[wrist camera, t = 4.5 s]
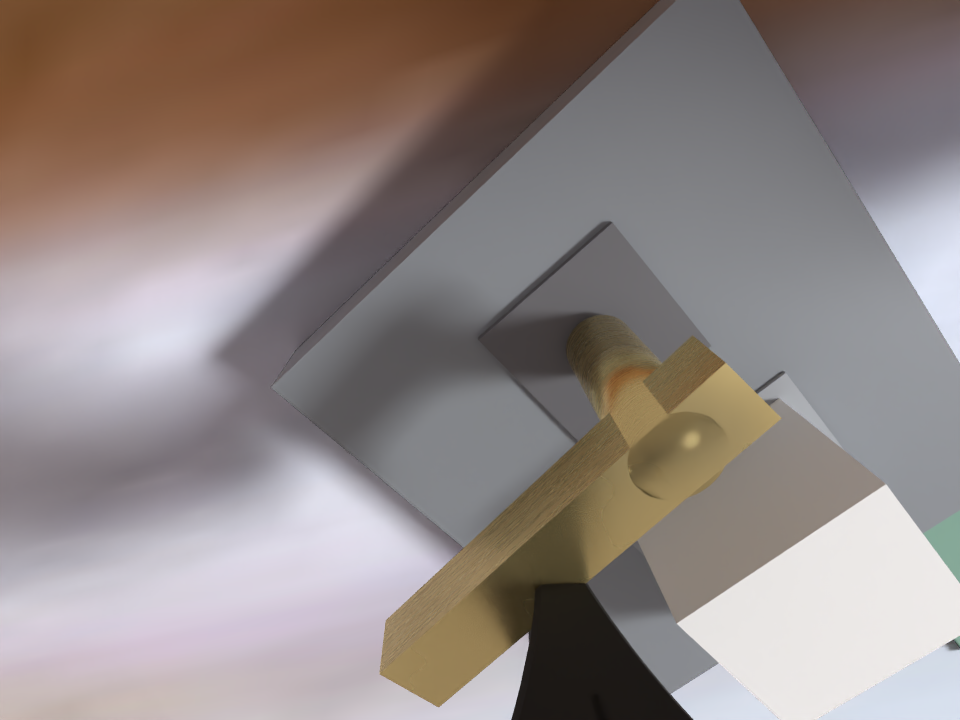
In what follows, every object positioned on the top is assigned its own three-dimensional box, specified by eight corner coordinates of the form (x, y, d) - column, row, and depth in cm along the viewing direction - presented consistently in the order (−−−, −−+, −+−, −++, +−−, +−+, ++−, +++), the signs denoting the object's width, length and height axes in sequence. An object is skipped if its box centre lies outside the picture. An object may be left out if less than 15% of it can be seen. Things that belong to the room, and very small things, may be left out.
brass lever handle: (670, 323, 13) (785, 422, 9) (443, 538, 15) (442, 709, 11) (624, 277, 13) (721, 358, 8) (395, 506, 15) (374, 671, 10)
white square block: (779, 398, 15) (885, 484, 11) (868, 512, 16) (986, 619, 13) (624, 512, 16) (676, 623, 12) (722, 609, 17) (793, 732, 14)
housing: (668, -9, 13) (721, -41, 11) (950, 426, 18) (1030, 473, 16) (296, 350, 16) (268, 391, 14) (629, 641, 21) (655, 711, 19)
